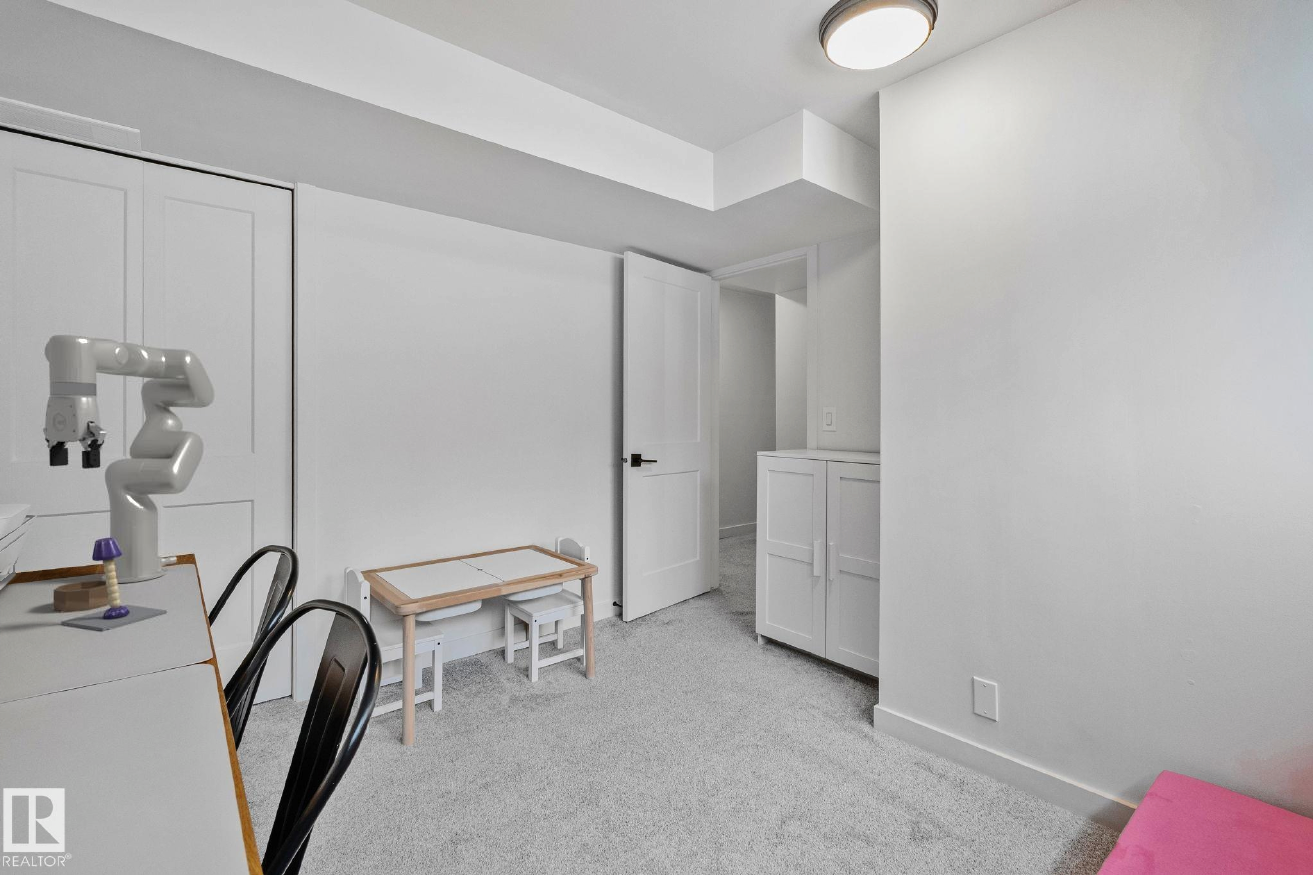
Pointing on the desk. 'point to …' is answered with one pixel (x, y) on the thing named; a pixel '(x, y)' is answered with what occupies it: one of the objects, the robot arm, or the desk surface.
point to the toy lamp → (110, 575)
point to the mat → (103, 624)
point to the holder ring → (81, 596)
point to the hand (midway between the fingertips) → (75, 466)
